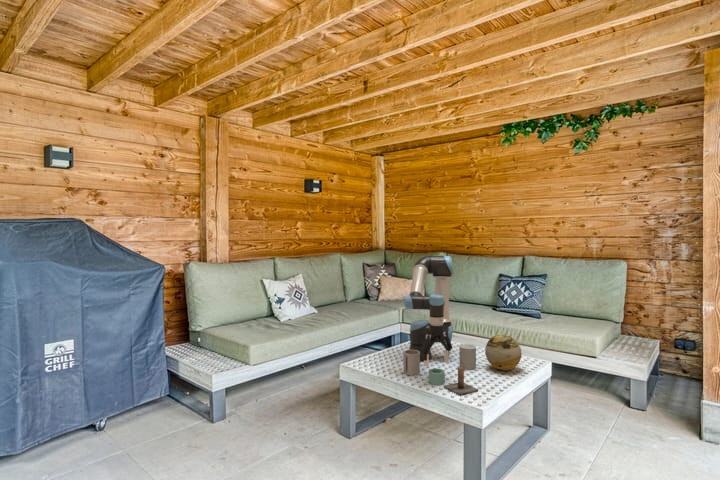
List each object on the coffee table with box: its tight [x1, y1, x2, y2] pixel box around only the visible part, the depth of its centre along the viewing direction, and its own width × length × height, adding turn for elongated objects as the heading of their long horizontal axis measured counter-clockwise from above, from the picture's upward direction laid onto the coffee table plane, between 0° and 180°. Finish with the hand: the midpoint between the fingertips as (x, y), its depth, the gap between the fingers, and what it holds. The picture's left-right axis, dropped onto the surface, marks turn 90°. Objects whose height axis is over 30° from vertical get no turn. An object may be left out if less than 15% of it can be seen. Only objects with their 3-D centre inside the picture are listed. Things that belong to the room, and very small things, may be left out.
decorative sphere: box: [484, 334, 523, 371], centre depth 239 cm, size 20×20×20 cm
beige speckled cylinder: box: [459, 343, 477, 371], centre depth 244 cm, size 10×10×12 cm
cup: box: [403, 349, 421, 377], centre depth 235 cm, size 9×9×12 cm
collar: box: [428, 367, 446, 386], centre depth 220 cm, size 8×8×6 cm
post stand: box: [443, 367, 479, 397], centre depth 210 cm, size 12×12×11 cm
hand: (436, 364), depth 220 cm, fingers open, 13 cm apart
